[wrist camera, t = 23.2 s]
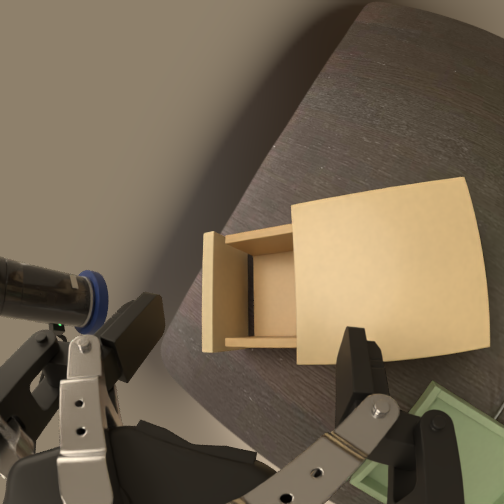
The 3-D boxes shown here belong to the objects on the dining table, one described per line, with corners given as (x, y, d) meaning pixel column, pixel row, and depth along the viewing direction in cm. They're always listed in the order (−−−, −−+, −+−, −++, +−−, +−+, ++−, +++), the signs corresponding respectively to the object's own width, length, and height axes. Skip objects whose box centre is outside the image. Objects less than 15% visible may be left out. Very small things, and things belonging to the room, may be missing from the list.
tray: (353, 472, 22) (348, 482, 20) (432, 379, 21) (435, 385, 19) (466, 529, 12) (468, 540, 10) (541, 448, 11) (549, 456, 9)
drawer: (229, 347, 31) (191, 351, 25) (229, 250, 34) (193, 234, 28) (364, 346, 25) (354, 354, 19) (356, 231, 28) (344, 206, 22)
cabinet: (323, 353, 27) (296, 365, 20) (318, 233, 30) (290, 204, 23) (464, 339, 21) (490, 346, 13) (449, 214, 24) (464, 176, 17)
